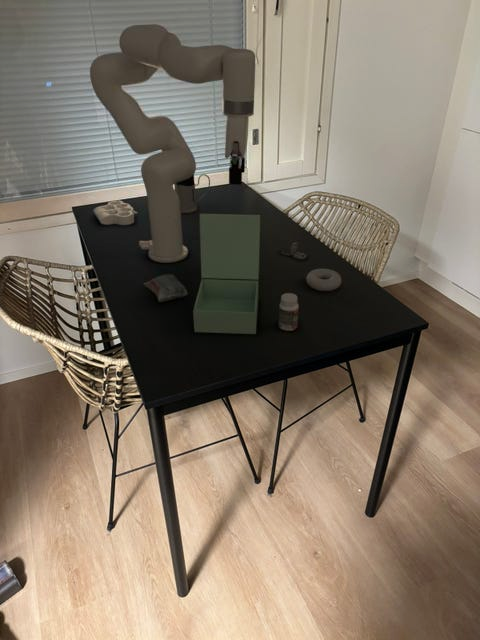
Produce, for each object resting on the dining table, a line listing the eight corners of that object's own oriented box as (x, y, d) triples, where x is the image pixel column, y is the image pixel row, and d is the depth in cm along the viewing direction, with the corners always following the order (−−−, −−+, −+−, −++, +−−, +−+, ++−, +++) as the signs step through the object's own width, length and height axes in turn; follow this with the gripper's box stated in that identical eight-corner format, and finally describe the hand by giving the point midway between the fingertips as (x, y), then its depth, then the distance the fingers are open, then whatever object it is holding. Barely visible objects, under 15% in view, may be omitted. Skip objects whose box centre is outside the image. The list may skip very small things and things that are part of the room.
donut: (299, 281, 144) (319, 296, 136) (299, 271, 142) (320, 285, 134) (327, 274, 148) (348, 288, 140) (328, 263, 146) (349, 277, 138)
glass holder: (177, 204, 197) (175, 166, 189) (212, 206, 196) (211, 167, 188) (172, 212, 190) (169, 173, 182) (208, 214, 188) (207, 174, 180)
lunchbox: (255, 334, 121) (256, 313, 118) (194, 332, 122) (193, 311, 119) (258, 300, 135) (258, 280, 131) (202, 298, 135) (201, 278, 132)
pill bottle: (296, 332, 122) (298, 303, 117) (277, 330, 123) (278, 301, 118) (298, 321, 126) (300, 293, 121) (279, 319, 126) (281, 291, 122)
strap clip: (307, 257, 157) (308, 245, 155) (302, 260, 155) (303, 248, 153) (285, 250, 162) (286, 238, 159) (279, 253, 160) (280, 241, 157)
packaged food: (159, 309, 131) (157, 292, 128) (143, 289, 139) (142, 274, 137) (189, 301, 134) (188, 285, 132) (172, 282, 143) (171, 267, 140)
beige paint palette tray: (92, 212, 189) (129, 206, 195) (103, 229, 176) (143, 222, 182) (90, 204, 188) (128, 198, 193) (102, 220, 174) (142, 213, 180)
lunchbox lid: (260, 215, 123) (260, 211, 127) (199, 214, 124) (201, 209, 128) (258, 279, 131) (259, 273, 135) (201, 278, 132) (203, 271, 136)
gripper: (226, 100, 126) (226, 167, 136) (218, 114, 112) (218, 188, 122) (255, 101, 126) (253, 168, 135) (251, 115, 112) (249, 190, 121)
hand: (236, 177), depth 129 cm, fingers open, 9 cm apart
